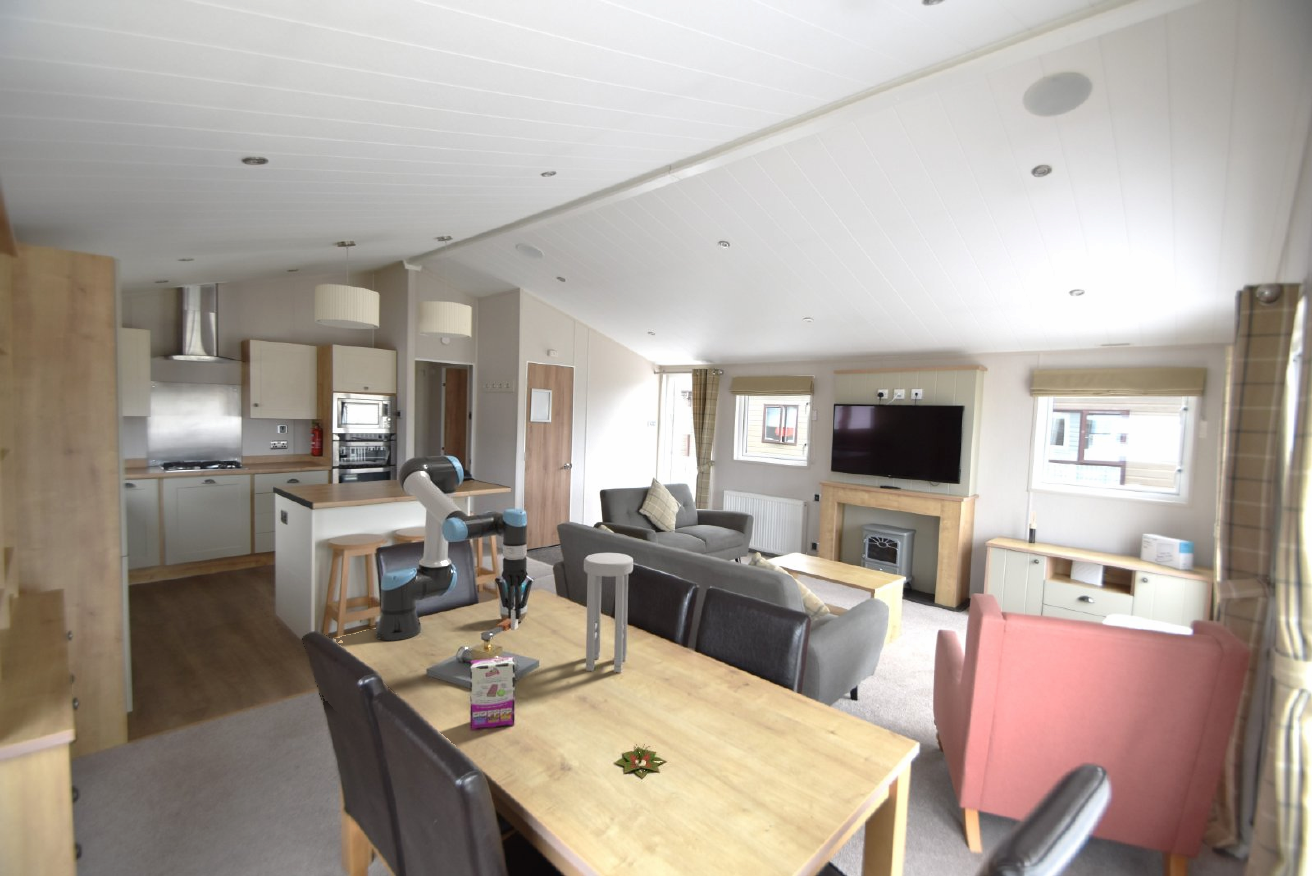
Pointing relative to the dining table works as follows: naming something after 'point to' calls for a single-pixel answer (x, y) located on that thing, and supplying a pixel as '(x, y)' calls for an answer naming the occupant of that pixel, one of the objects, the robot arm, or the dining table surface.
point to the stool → (595, 569)
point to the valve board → (461, 671)
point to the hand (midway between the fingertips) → (514, 628)
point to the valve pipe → (481, 653)
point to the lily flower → (643, 755)
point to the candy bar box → (492, 693)
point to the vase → (505, 610)
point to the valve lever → (496, 630)
